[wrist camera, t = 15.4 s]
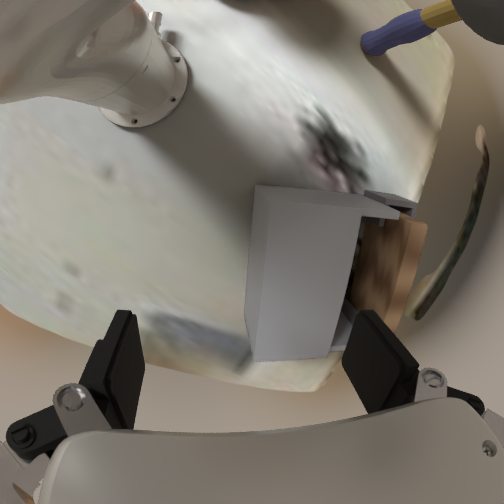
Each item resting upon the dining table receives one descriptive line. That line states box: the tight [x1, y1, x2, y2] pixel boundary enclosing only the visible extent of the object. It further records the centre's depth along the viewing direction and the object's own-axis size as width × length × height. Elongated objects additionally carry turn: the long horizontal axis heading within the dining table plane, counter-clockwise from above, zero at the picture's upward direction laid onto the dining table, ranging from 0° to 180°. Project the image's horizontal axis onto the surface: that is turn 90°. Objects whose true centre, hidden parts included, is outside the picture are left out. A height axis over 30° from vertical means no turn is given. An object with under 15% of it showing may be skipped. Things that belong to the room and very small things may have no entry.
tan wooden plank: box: [348, 212, 428, 334], centre depth 39 cm, size 18×4×11 cm, turn 176°
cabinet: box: [244, 185, 418, 362], centre depth 37 cm, size 22×22×11 cm
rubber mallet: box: [360, 0, 504, 56], centre depth 17 cm, size 12×8×30 cm, turn 130°
